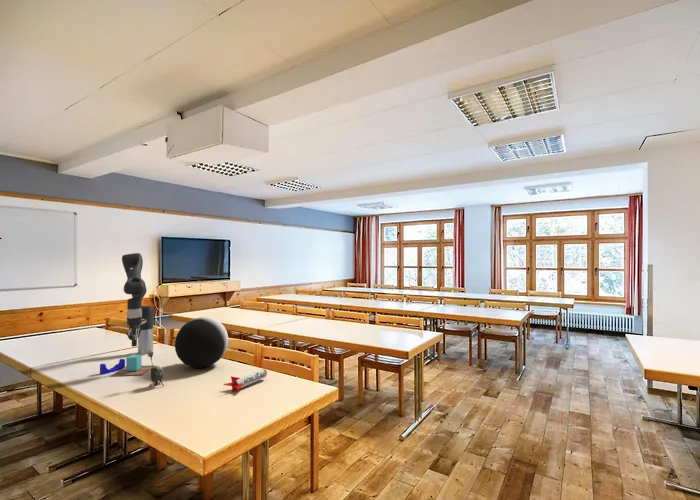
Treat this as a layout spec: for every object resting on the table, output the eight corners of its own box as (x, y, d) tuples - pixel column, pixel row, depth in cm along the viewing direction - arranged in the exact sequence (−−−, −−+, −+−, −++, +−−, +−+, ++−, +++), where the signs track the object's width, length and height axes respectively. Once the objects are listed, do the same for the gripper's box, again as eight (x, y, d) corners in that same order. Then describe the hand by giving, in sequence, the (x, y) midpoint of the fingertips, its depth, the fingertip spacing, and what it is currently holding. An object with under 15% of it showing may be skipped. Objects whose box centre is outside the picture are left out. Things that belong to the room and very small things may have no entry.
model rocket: (272, 383, 185) (273, 364, 185) (238, 399, 165) (238, 378, 165) (258, 379, 190) (258, 361, 190) (223, 394, 170) (223, 374, 170)
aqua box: (131, 367, 203) (131, 354, 203) (141, 367, 203) (141, 354, 203) (126, 371, 197) (126, 357, 197) (136, 370, 198) (136, 357, 198)
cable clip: (120, 368, 207) (120, 358, 207) (124, 369, 205) (125, 359, 205) (98, 374, 197) (98, 363, 197) (102, 375, 195) (102, 365, 195)
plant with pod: (152, 393, 170) (152, 353, 170) (143, 387, 177) (143, 349, 177) (169, 388, 176) (169, 349, 176) (159, 383, 184) (160, 345, 184)
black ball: (236, 359, 224) (236, 313, 224) (213, 376, 194) (213, 323, 194) (192, 358, 227) (192, 312, 227) (163, 374, 197) (163, 321, 197)
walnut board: (126, 368, 207) (126, 366, 207) (154, 367, 209) (154, 365, 209) (111, 377, 191) (111, 375, 191) (141, 376, 193) (141, 374, 193)
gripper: (133, 314, 206) (133, 343, 206) (121, 318, 193) (121, 349, 193) (146, 314, 207) (146, 342, 207) (135, 318, 194) (135, 349, 194)
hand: (134, 346), depth 200 cm, fingers closed
